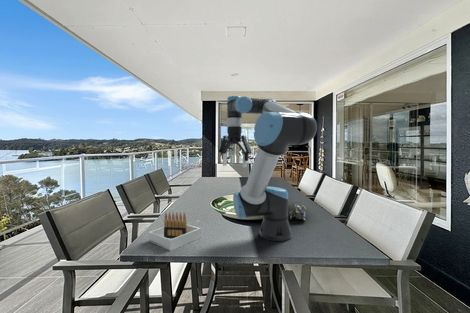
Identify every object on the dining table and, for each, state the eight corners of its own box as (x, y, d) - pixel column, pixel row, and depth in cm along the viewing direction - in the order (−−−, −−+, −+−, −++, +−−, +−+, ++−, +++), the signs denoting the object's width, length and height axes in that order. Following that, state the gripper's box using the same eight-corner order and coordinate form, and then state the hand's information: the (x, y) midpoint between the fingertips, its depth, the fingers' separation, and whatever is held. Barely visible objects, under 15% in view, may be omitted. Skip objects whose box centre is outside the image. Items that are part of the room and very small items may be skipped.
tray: (201, 237, 119) (200, 228, 119) (170, 250, 106) (170, 240, 105) (179, 230, 129) (179, 221, 129) (148, 241, 115) (148, 231, 115)
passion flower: (303, 229, 145) (310, 216, 138) (284, 226, 144) (291, 213, 137) (300, 213, 154) (307, 200, 146) (283, 210, 153) (289, 197, 146)
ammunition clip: (163, 237, 117) (163, 212, 116) (165, 236, 119) (164, 211, 118) (186, 238, 116) (185, 213, 115) (187, 237, 118) (187, 211, 117)
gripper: (258, 125, 129) (258, 167, 131) (221, 127, 144) (221, 164, 146) (249, 125, 123) (249, 168, 125) (212, 126, 139) (212, 165, 140)
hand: (234, 166), depth 135 cm, fingers open, 13 cm apart
